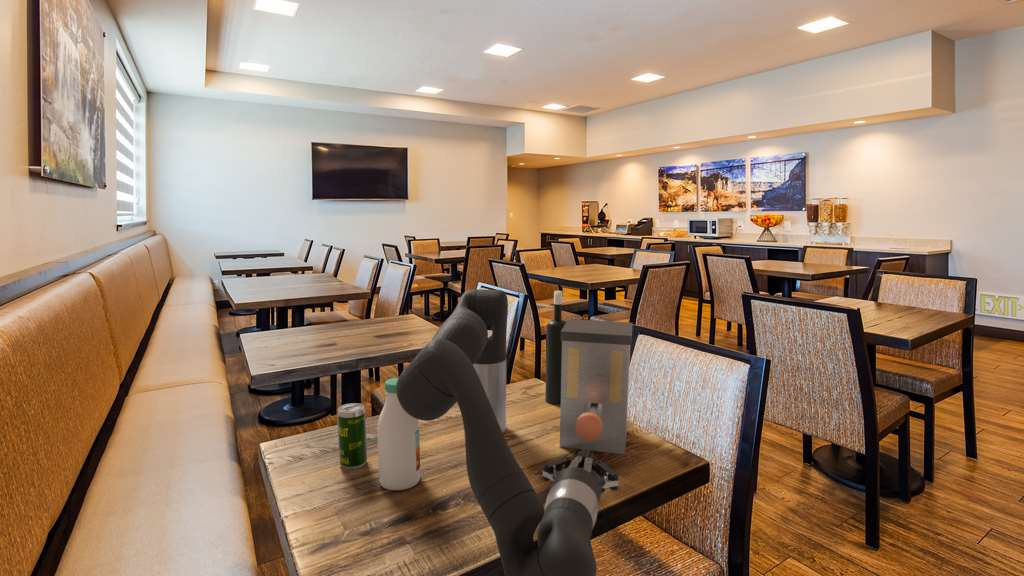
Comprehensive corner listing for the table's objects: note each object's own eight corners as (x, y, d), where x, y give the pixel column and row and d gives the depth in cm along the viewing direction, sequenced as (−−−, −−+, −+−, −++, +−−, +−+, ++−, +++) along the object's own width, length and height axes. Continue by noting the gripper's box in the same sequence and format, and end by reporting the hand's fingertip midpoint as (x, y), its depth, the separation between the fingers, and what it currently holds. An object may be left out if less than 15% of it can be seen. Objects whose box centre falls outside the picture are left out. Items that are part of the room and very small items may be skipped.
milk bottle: (411, 494, 99) (408, 389, 96) (372, 489, 100) (368, 386, 97) (426, 473, 106) (424, 375, 103) (389, 469, 108) (386, 373, 105)
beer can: (357, 455, 114) (355, 400, 112) (372, 463, 110) (370, 407, 108) (334, 464, 110) (331, 408, 108) (349, 473, 106) (347, 415, 104)
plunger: (601, 442, 106) (602, 417, 105) (575, 439, 107) (575, 414, 106) (606, 415, 119) (607, 393, 118) (582, 413, 120) (583, 391, 120)
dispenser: (626, 455, 115) (631, 335, 110) (558, 447, 118) (560, 331, 114) (627, 431, 127) (632, 322, 123) (566, 424, 130) (568, 319, 126)
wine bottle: (568, 398, 148) (571, 289, 143) (564, 405, 142) (567, 293, 138) (547, 395, 149) (549, 288, 145) (543, 403, 144) (545, 292, 139)
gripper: (528, 521, 82) (549, 469, 98) (617, 534, 79) (623, 478, 95) (529, 474, 81) (550, 429, 97) (619, 486, 78) (625, 438, 94)
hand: (586, 454), depth 96 cm, fingers closed
